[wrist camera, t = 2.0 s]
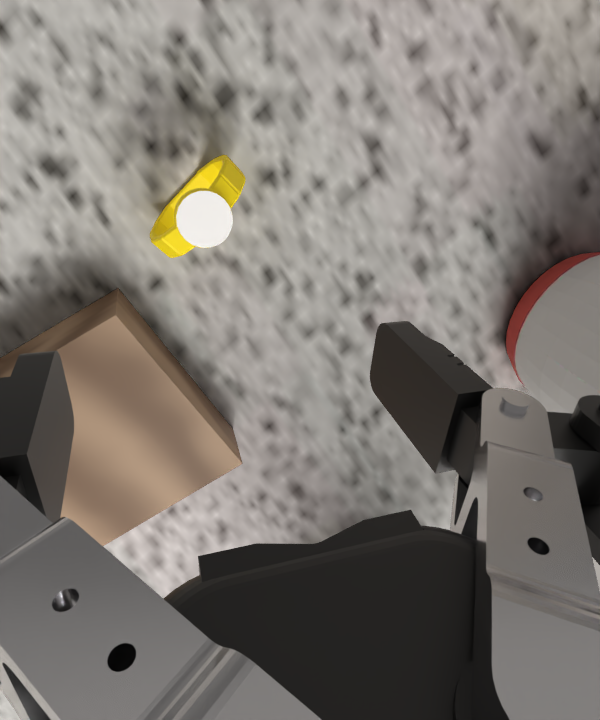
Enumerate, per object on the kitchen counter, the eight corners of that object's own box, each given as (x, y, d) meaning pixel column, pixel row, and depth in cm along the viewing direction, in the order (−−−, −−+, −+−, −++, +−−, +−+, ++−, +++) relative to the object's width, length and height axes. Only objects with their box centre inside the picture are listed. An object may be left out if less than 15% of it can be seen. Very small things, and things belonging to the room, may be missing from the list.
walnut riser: (118, 287, 28) (115, 315, 25) (232, 429, 36) (242, 463, 33) (-133, 437, 29) (-168, 483, 25) (36, 545, 37) (26, 591, 33)
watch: (206, 140, 26) (229, 147, 21) (241, 177, 28) (269, 192, 23) (136, 219, 27) (142, 243, 22) (173, 251, 28) (187, 281, 23)
